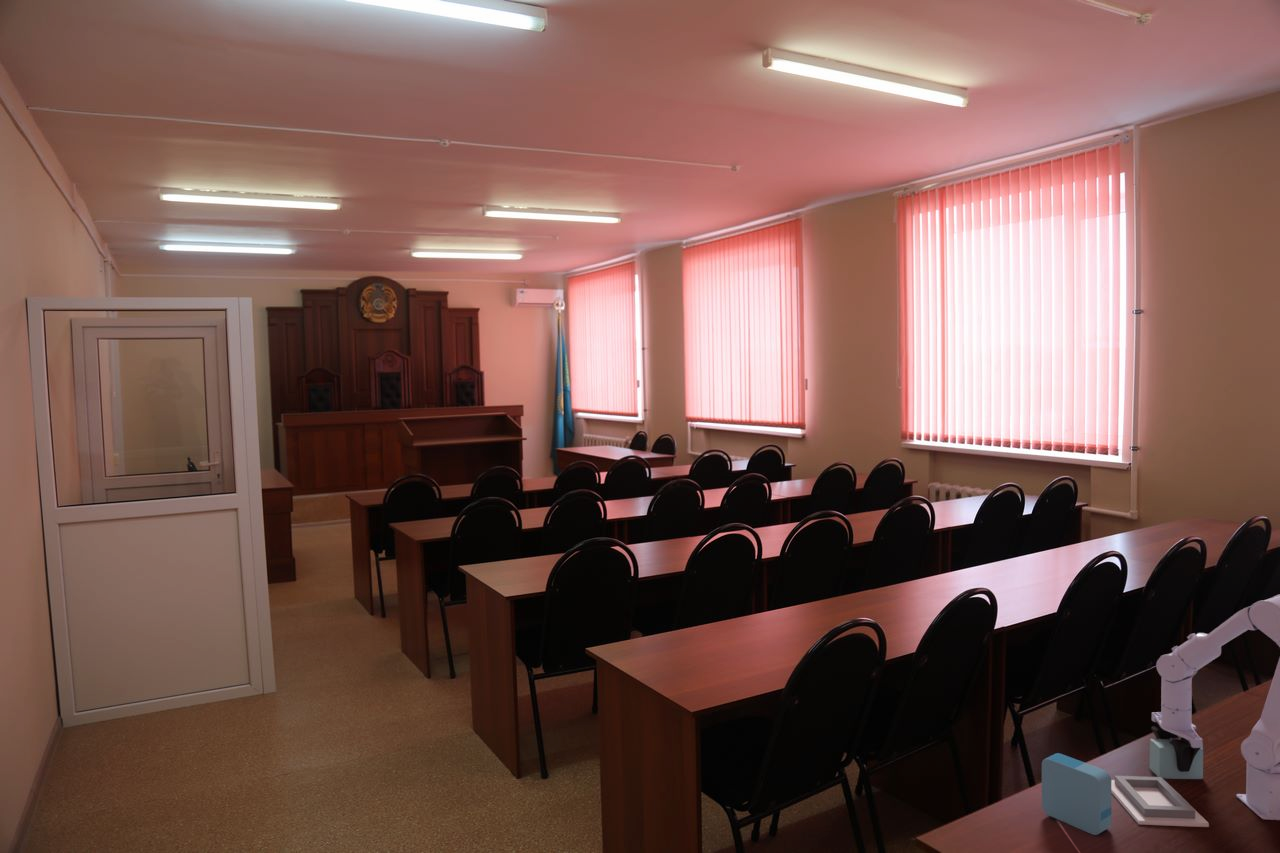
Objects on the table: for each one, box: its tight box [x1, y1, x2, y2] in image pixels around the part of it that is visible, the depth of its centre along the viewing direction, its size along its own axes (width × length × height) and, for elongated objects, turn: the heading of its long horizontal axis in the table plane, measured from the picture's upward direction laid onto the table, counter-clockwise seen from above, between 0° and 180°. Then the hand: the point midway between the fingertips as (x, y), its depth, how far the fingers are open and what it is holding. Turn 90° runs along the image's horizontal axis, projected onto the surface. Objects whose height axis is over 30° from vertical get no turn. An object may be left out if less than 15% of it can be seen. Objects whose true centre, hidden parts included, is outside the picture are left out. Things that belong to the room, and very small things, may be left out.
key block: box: [1149, 736, 1204, 780], centre depth 186 cm, size 4×9×8 cm, turn 83°
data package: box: [1041, 752, 1112, 836], centre depth 168 cm, size 12×4×12 cm, turn 33°
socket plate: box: [1111, 775, 1210, 828], centre depth 174 cm, size 17×13×2 cm
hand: (1175, 765), depth 186 cm, fingers closed on key block, 5 cm apart
